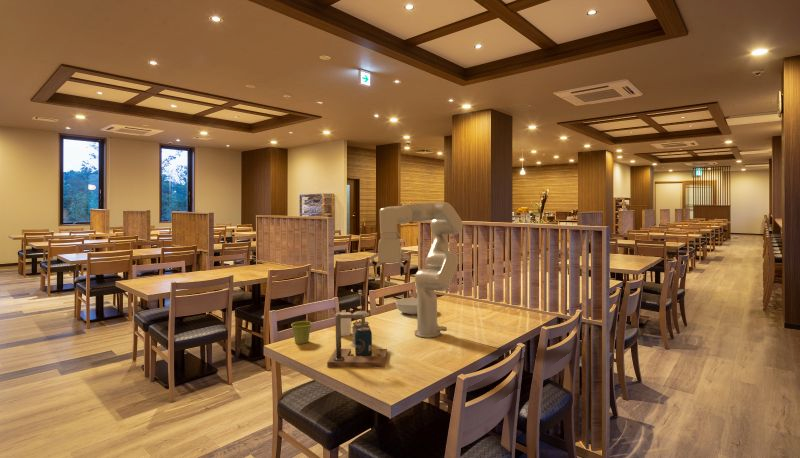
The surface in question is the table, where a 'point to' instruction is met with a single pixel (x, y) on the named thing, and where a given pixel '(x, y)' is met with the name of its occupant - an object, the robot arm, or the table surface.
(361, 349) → the soda can
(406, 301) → the serving bowl
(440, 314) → the table surface
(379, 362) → the u-shaped wooden block
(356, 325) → the french press
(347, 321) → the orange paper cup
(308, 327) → the plant pot
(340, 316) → the knobbed metal rod
